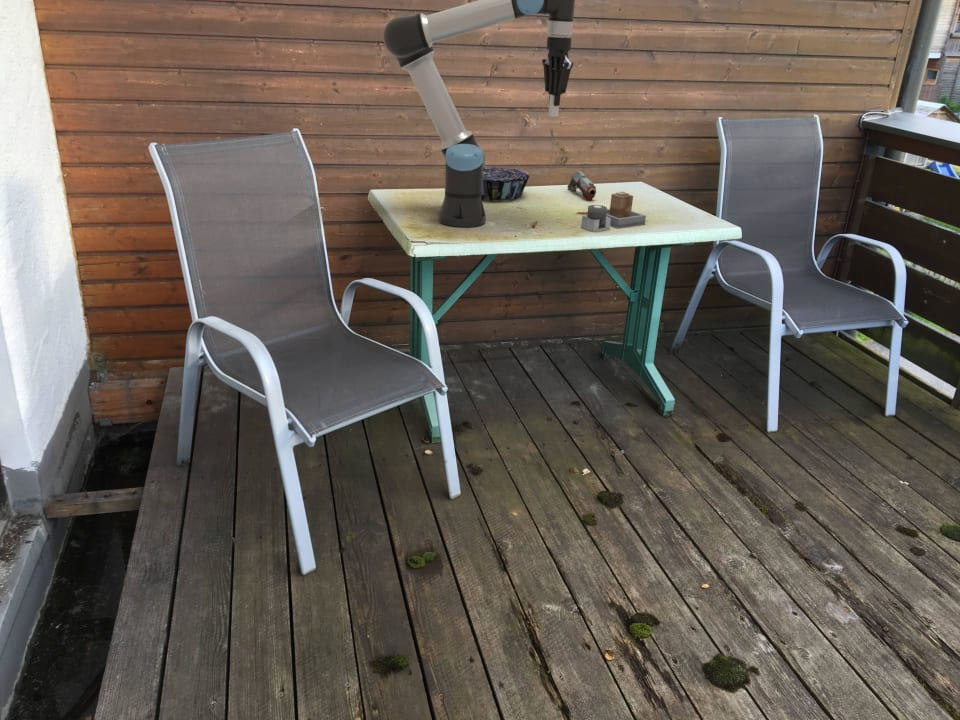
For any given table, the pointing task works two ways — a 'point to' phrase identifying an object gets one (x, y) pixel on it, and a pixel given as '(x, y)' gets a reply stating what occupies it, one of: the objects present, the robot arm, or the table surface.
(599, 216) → the wheel
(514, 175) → the decorative bowl
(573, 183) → the toy gun
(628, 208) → the walnut block
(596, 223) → the axle mount
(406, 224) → the table surface
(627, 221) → the chassis bay
